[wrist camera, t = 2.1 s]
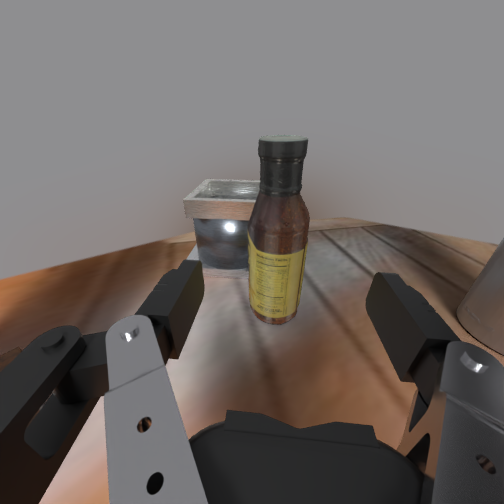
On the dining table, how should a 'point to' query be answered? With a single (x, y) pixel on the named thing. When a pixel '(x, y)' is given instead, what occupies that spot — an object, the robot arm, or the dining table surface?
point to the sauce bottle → (278, 230)
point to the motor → (222, 225)
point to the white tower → (8, 357)
